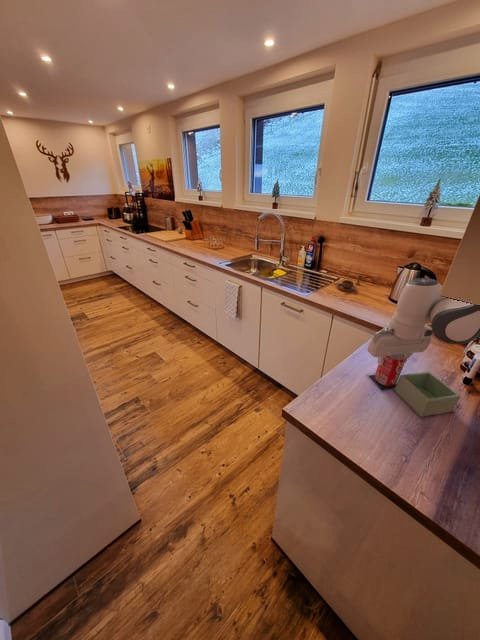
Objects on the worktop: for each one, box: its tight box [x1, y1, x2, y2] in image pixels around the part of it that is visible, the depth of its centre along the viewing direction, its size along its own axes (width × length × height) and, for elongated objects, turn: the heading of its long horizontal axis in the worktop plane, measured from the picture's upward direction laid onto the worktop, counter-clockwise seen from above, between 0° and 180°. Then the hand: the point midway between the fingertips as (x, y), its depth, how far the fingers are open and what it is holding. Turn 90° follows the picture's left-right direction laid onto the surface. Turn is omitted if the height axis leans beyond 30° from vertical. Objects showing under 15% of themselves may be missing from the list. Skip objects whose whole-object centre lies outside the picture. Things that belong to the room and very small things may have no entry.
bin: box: [393, 370, 462, 417], centre depth 85 cm, size 12×12×7 cm
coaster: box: [368, 374, 397, 391], centre depth 93 cm, size 7×7×1 cm
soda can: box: [374, 354, 406, 386], centre depth 90 cm, size 7×7×12 cm
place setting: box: [334, 275, 362, 295], centre depth 170 cm, size 18×20×6 cm
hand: (391, 363), depth 89 cm, fingers closed on soda can, 7 cm apart
